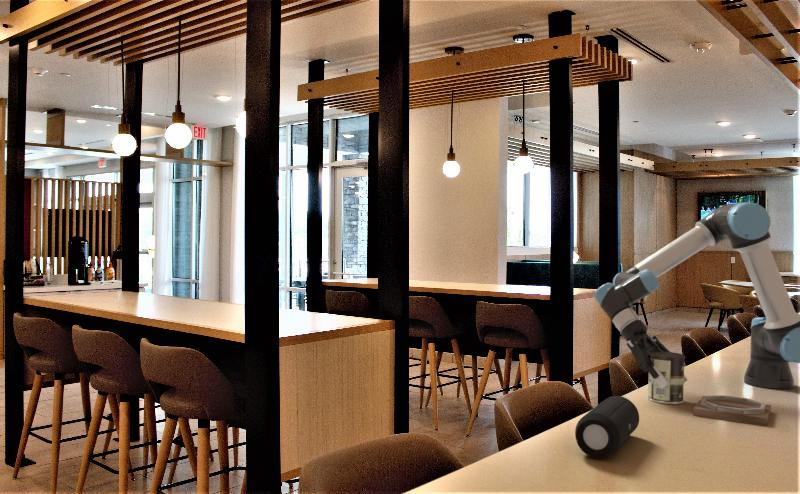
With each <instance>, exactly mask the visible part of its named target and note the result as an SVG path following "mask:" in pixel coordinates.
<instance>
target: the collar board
mask: <svg viewBox="0 0 800 494" xmlns="http://www.w3.org/2000/svg"><path fill="white" fill-rule="evenodd" d="M771 406H772V405H771V404H768V403H767V404H766V403H764V402H760V401H758V400H755V399H751V398H745V397H740V396H733V395H723V394H721V395H703V396H701V398H700V400H699V401H697V403H696V404H695V406H694V407H693V415H692V416H696V417H702V418H708V419H716V420H722V421H723V420H725V421H729V422H731V421H732V422H736V423H737V422H738V423H742V424H743V423H745V424H752V425H756V426H757V425H759V426H765V427H767V425H768V422H769V419H770V415H771V412H772V411H771V409H772V408H771Z"/></svg>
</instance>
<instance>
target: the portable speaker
mask: <svg viewBox="0 0 800 494" xmlns="http://www.w3.org/2000/svg"><path fill="white" fill-rule="evenodd" d="M639 423H640V414H639V410H638V408H637V407H636V405H635V404H634V402H633V401H632V400H630V399H628V398H626V397H624V396H620V395H613V396H610V397H607V398H605V399H603V401H601V402H600V403H598V404H597V405H596V406H595V407H593V409H591V410H590V411H588V412H587V413H585V415H583V416H582V417H581V418H580V419H579V420H578V422H577V423H576V426H575V429H574V433H575V434H574V437H575V441H576V443H577V445H578V447H579V449H580V450H581V451H582V452H583V453H584V454H586V455H587V456H590V457H593V458H595V457H597V458H596V459H605V458H604V457H606V458H608V457H611V456H612V455H613V454H615V453H616V451H617V450H618V449H619V448H620V446H622V444H624V442H625V441H627V439H628V438H629V437H630V436H631V435H632V434H633V433H634V432H635V431H636V430H637V429H638V426H639Z"/></svg>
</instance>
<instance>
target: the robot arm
mask: <svg viewBox="0 0 800 494" xmlns="http://www.w3.org/2000/svg"><path fill="white" fill-rule="evenodd" d="M771 221H772V220H771V216H770V214H769V211H767V209H766V208H764V206H762V205H761V204H758V203H756V202H755V203H754V202H748V201H741V202H737V203H728V204H724V205H721V206H720V207H718V208H716V209H714V210H713V211H711V212H710V213H709V214H707V215H705V216H704V217H703V218H701V219H700V220H698V221H697V222H696V223H694V224H695V225H694V227H693V228H691V229H690V230H688V231H687V232H685V233H684V234H682V235H680V236H679V237H677V238H676V239H674V240H672V241H671V242H669V243H668V244H667V245H665V246H663V247H662V248H660V249H659V250H657V251H655V252H654V253H652V254H651V255H649V256H647V257H646V258H644V259H643V260H641V261H639V262H638V263H637V264H635V265H634V266H632V267H631V268H628V269H627V270H626V271H621V272H618V273H617V274H616V275H615V276H614V277H613V279H612V282H606V283H604V284H602V285H601V286H599V287H598V288H597V289H596V291H595V292H594V299H595V300H596V302H597V303H598V304H599V306H600V308H601V309H602V310H603V311H604V313H605V314H606V315H607V317H608V318H609V319H610V320H611V322H612V323H613V325H614V327H615V328H616V329H617V330H618V331H619V332H621V333H620V334H621V336H622V337H623V338H624V339H625V341H626V346H627V347H628V348H629V350H630V351H631V353H632V356H633V357H634V359H635V361H636V363H637V364H638V367H639V368H640V370H642V371H643V373H647V372H648V374H649V373H650V374H651V376H652V377H653V378H654V380H655V381H656V382H657V384H658V385H659V386H660V388H661V389H664V388H665V387H666V386H667V385H668V384H669V383H668V381H667V380H666V379H665V378H664V376H663V375H662V374H661V372H660V371H659V370H658V368H657V367H656V366H653V364H652V361H651V358H650V356H649V352H671V351H670V350H669V349H668V348H667V347H666V346H665V345H664V344H663V343H662V342H661V341H660V340H659V338H658V337H657V336H656V335H653V336H652V337H651V336H650V335H648V334H647V333H648V332H647V331H648V327H647V326H646V324H645V323H644V322H643V320H641V319H640V317H639V316H638V314H637V313H636V311H634V309H633V308H632V307H631V305H633V304H635V303H637V302H638V301H641V299H643V298H646V297H647V296H649V295H651V294H653V293H654V292H655V291H656V290H658V289H659V288H660V282H659V280H658V279H657V278H659V277H661V276H663V275H664V274H665V273H667V272H669V271H670V270H671V269H673V268H675V267H676V266H677V267H678V265H680V264H681V263H683V262H684V261H686V260H688V259H689V258H691V257H692V256H693V255H696V254H697V253H698V252H700V251H701V250H704V249H705V248H706V247H708V246H711V247H714V246H715V245H717V244H719V243H721V242H723V241H725V240H728V241H729V243H730V245H731V247H732V250H734V251H736V252H739V254H740V256H741V259H742V261H743V263H744V266H745V269H746V271H747V273H748V276H749V278H750V280H751V284H752V286H753V288H754V291H755V293H756V296H757V298H758V301H759V303H760V306H761V308H762V310H763V314H764V316H765V317H764V316H763V317H761V316H760V317H759V316H758V317H754V318H753V319H752V320H751V325H750V355H749V356H750V357H749V363H748V365H747V367H746V370H745V372H744V375H743V382H744V383H745V384H747V385H750V386H754V387H759V388H766V389H777V390H788V389H793V388H795V380H794V376H793V373H792V371H791V367H790V364H789V363H794V364H795V363H796V364H800V313H798V312H796V310H795V308H794V304H793V303H792V301H791V298H790V295H789V292H788V290H787V288H786V286H785V283H784V281H783V278H782V276H781V273H780V270H779V267H778V265H777V263H776V260H775V258H774V255H773V253H772V251H771V248H770V245H769V242H770V240H771V238H772V236H771V233H770V231H769V230H770V227H771ZM652 366H653V367H652ZM688 380H689V379H688V377H687V376H686V375H685V374H684V384H685V383H686V382H687V381H688Z"/></svg>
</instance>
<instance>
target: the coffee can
mask: <svg viewBox="0 0 800 494" xmlns="http://www.w3.org/2000/svg"><path fill="white" fill-rule="evenodd" d="M649 356H650V358H651V361H652V364H653V366H656V367H657V368H658V370H659V371H660V372H661V374H662V375H663V376H664V378H665V379H666V380H667V381H668V383H669V384H668V385H667V386H666V387H665V388H664V389H661V388H660V386H659V385H658V384H657V382H656V381H655V380H654V378H653V377H652V376H651V374H650V373H649V372H648V382H647V383H648V384H647V385H648V387H647V400H648V401H651V402H653V403H657V404H664V405H665V404H666V405H680V404H684V401H685V400H684V392H685V391H684V390H685V388H684V387H685V383H684V375H685V358H686V356H685V354H684V353H683V354H682V353H679V352H671V351H670V352H649ZM653 366H652V367H653Z"/></svg>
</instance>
